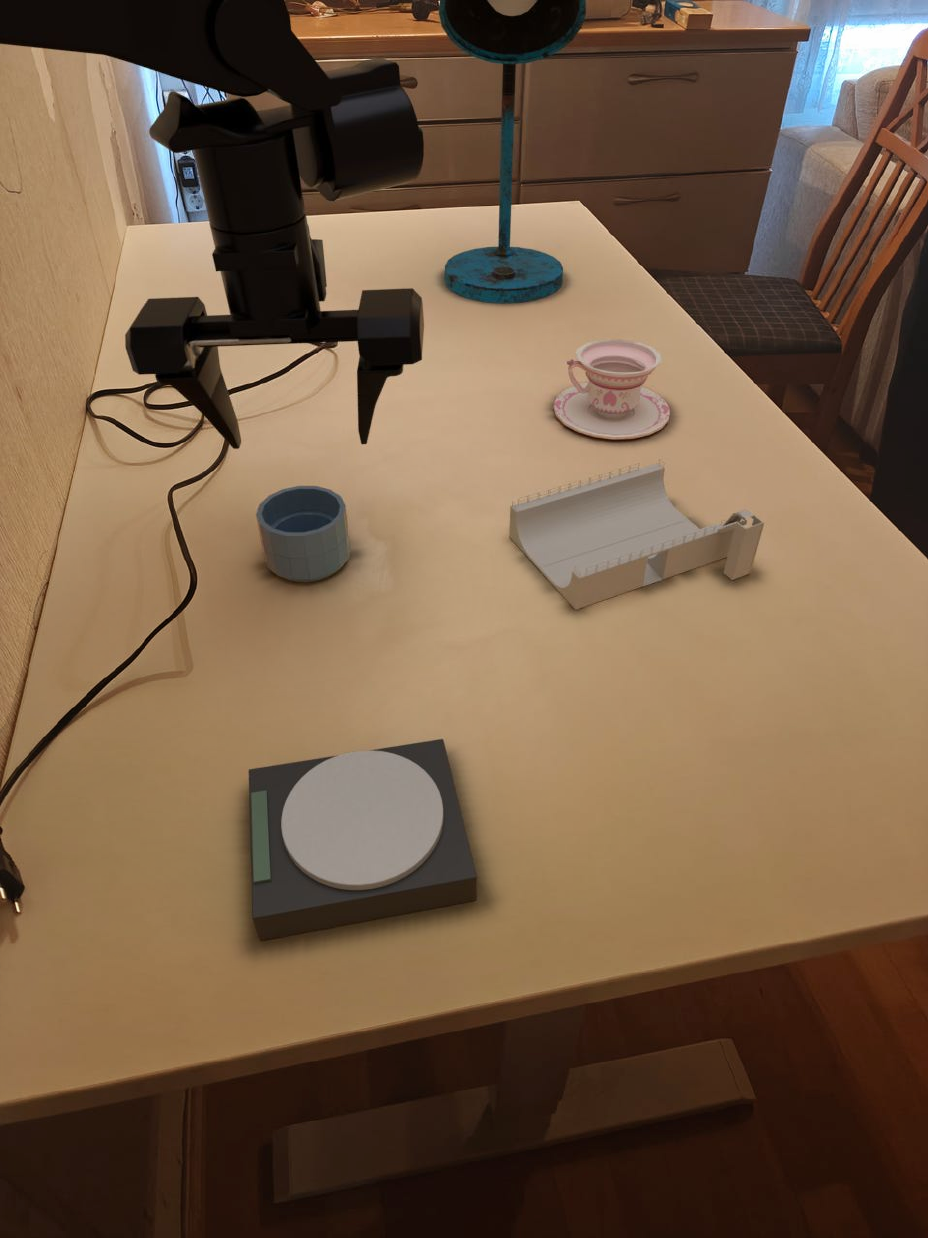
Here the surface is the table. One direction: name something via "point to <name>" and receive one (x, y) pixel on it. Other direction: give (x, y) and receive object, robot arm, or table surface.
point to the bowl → (304, 533)
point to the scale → (356, 839)
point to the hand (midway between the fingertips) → (301, 443)
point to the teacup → (613, 392)
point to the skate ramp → (623, 536)
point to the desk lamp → (508, 134)
